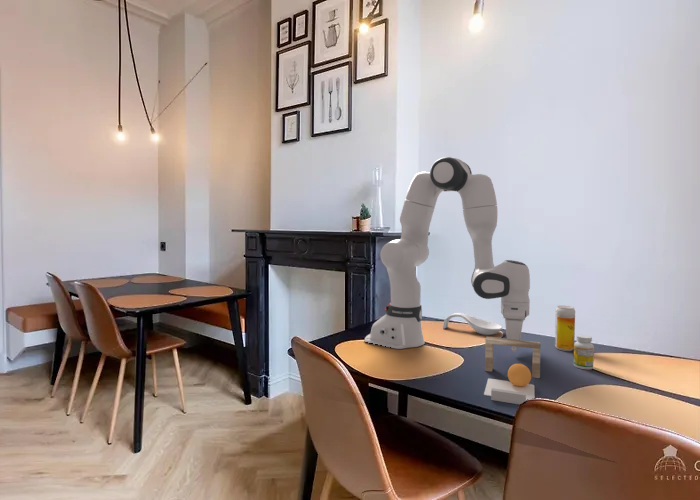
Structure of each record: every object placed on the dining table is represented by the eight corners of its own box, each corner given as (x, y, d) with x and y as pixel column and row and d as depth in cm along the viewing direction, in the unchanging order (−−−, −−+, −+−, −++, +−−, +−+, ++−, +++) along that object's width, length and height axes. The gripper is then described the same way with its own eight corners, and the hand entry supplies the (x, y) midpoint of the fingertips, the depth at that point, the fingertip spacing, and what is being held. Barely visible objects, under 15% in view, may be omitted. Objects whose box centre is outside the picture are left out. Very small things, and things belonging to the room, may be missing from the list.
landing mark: (483, 395, 105) (483, 394, 105) (488, 379, 116) (488, 378, 116) (534, 403, 100) (534, 402, 100) (534, 385, 111) (534, 384, 111)
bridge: (539, 378, 117) (540, 344, 116) (485, 370, 123) (485, 339, 122) (539, 374, 119) (540, 342, 119) (486, 367, 125) (486, 336, 125)
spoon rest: (504, 332, 167) (504, 315, 167) (499, 339, 157) (499, 321, 157) (447, 325, 179) (447, 309, 179) (439, 331, 169) (439, 314, 168)
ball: (506, 359, 114) (505, 378, 115) (509, 370, 108) (509, 390, 110) (529, 360, 112) (528, 379, 114) (533, 371, 107) (533, 391, 108)
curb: (491, 399, 102) (491, 390, 102) (491, 397, 104) (491, 388, 103) (525, 405, 99) (525, 395, 99) (525, 402, 100) (526, 393, 100)
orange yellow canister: (576, 352, 140) (577, 309, 139) (557, 351, 141) (558, 308, 140) (570, 346, 146) (572, 305, 145) (552, 345, 147) (553, 305, 146)
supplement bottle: (591, 371, 122) (592, 339, 121) (571, 367, 125) (572, 336, 125) (594, 366, 126) (595, 335, 125) (575, 362, 129) (576, 333, 129)
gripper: (506, 302, 146) (506, 340, 147) (502, 314, 128) (502, 357, 128) (525, 304, 144) (524, 342, 144) (524, 315, 125) (523, 359, 126)
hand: (514, 349), depth 136 cm, fingers closed
